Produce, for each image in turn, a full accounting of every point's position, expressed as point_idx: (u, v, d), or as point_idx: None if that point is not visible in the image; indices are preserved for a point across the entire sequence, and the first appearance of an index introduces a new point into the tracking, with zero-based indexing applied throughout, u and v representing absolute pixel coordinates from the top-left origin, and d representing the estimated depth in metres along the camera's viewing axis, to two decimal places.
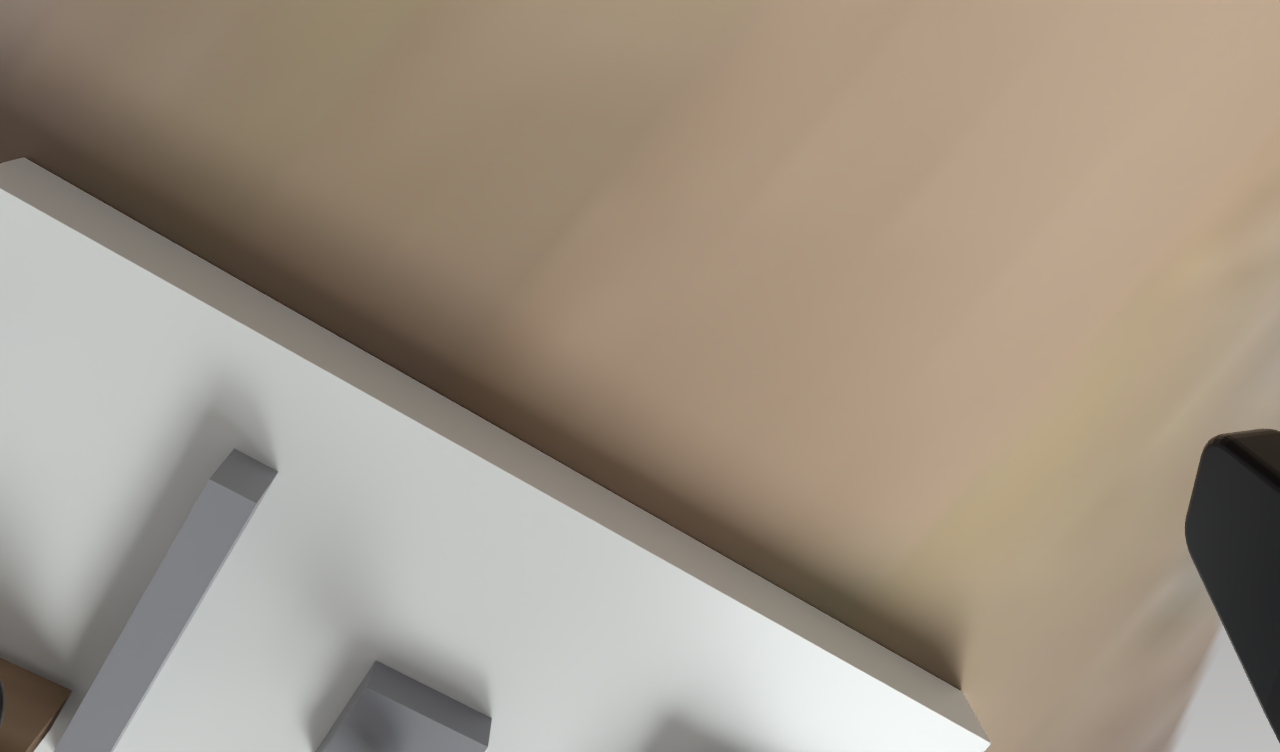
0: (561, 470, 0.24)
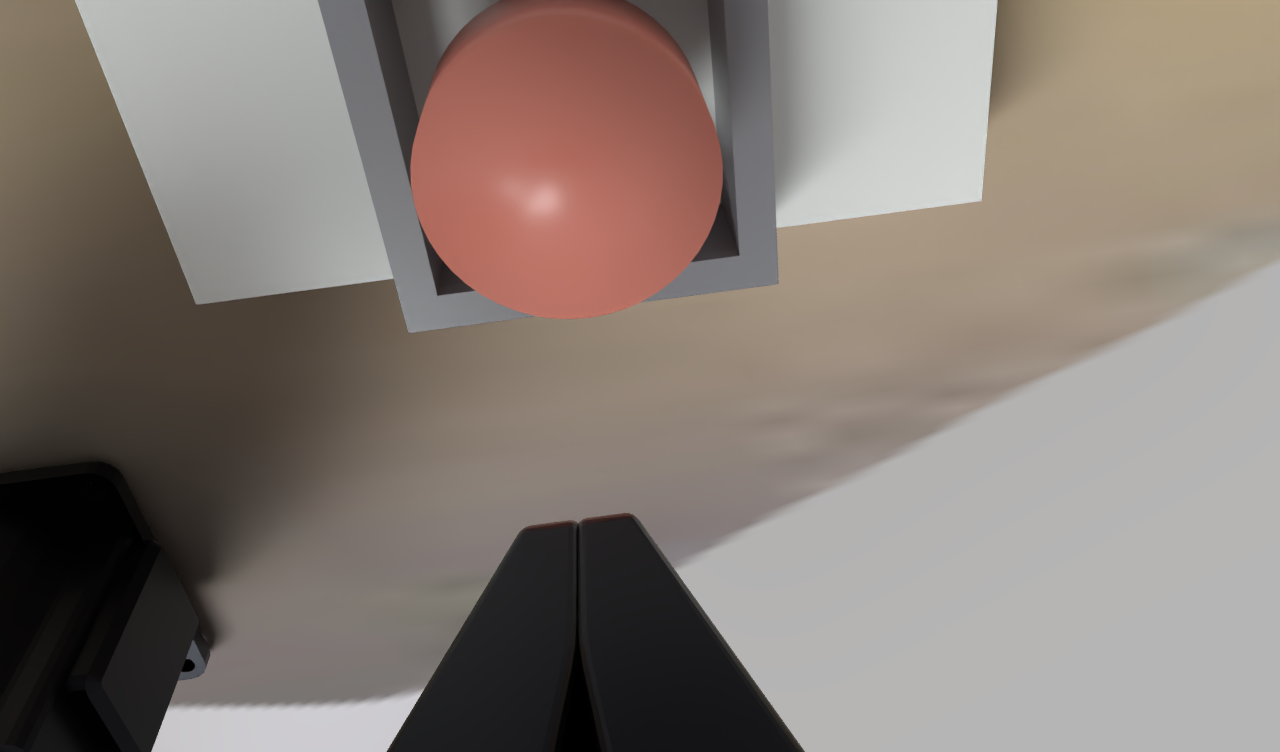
0: None
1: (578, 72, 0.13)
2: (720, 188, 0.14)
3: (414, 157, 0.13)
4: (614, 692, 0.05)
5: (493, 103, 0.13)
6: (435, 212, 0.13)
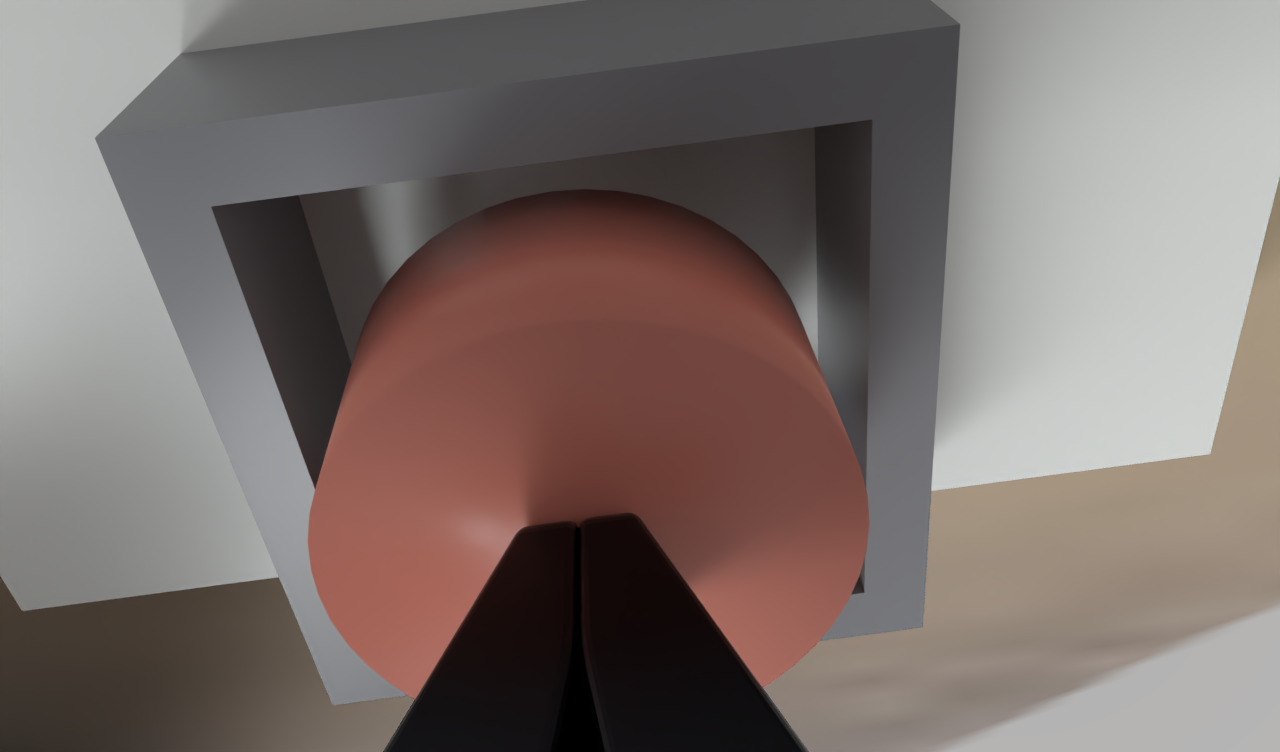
0: None
1: (615, 393, 0.07)
2: (862, 559, 0.08)
3: (314, 528, 0.07)
4: (617, 692, 0.05)
5: (456, 445, 0.07)
6: (357, 605, 0.08)
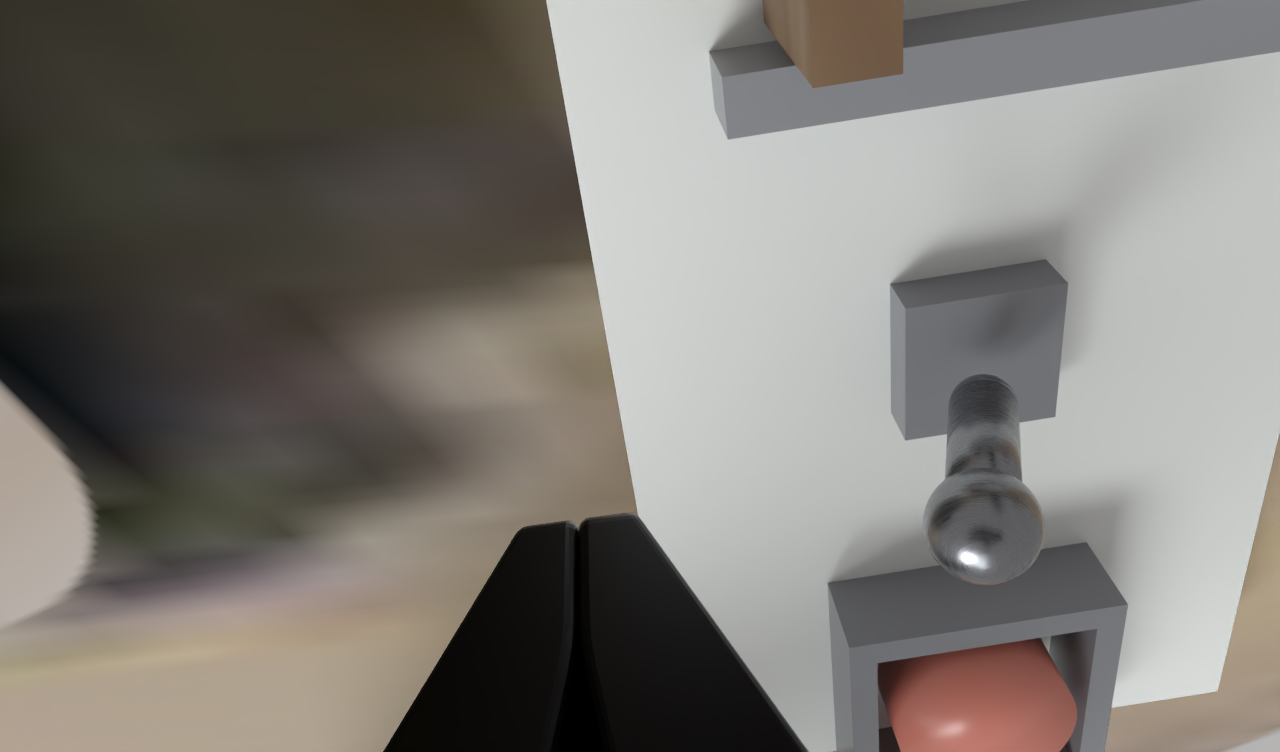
0: None
1: (1006, 688, 0.23)
2: (1073, 729, 0.23)
3: (907, 727, 0.23)
4: (617, 692, 0.05)
5: (957, 703, 0.23)
6: (911, 748, 0.23)
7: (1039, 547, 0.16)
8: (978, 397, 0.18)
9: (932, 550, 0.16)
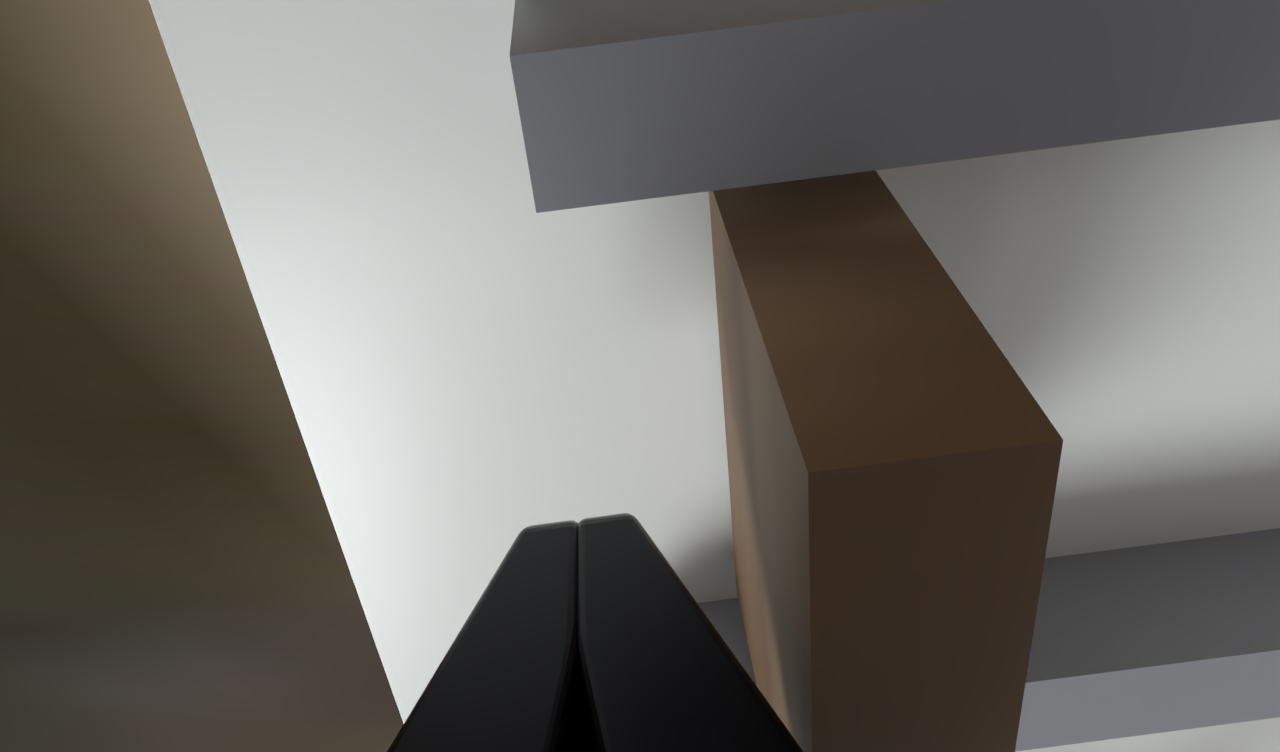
0: None
1: None
2: None
3: None
4: (613, 692, 0.05)
5: None
6: None
7: None
8: None
9: None
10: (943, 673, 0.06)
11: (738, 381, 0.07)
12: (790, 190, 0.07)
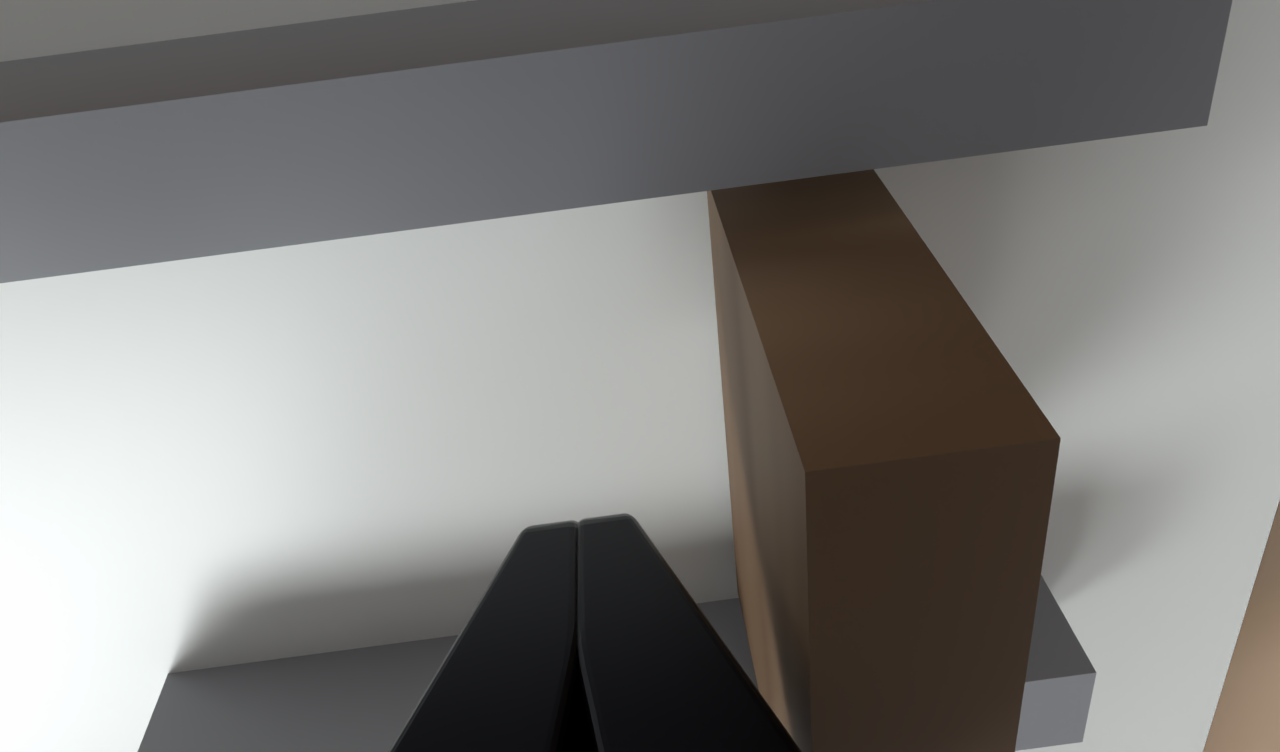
0: None
1: None
2: None
3: None
4: (611, 692, 0.05)
5: None
6: None
7: None
8: None
9: None
10: (942, 672, 0.06)
11: (737, 381, 0.07)
12: (787, 190, 0.07)
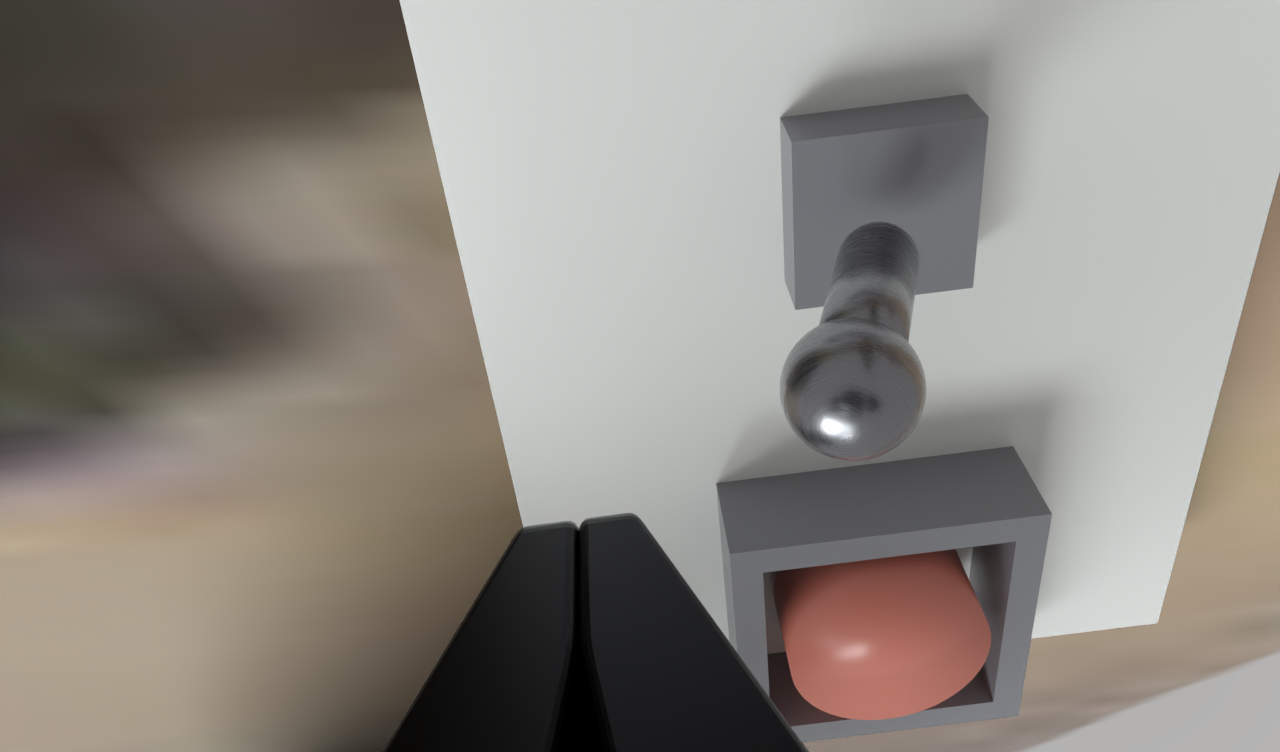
0: None
1: (910, 606, 0.20)
2: None
3: (797, 647, 0.20)
4: (617, 691, 0.05)
5: (853, 621, 0.20)
6: (802, 672, 0.21)
7: (915, 413, 0.12)
8: (868, 245, 0.15)
9: (787, 416, 0.13)
10: None
11: None
12: None
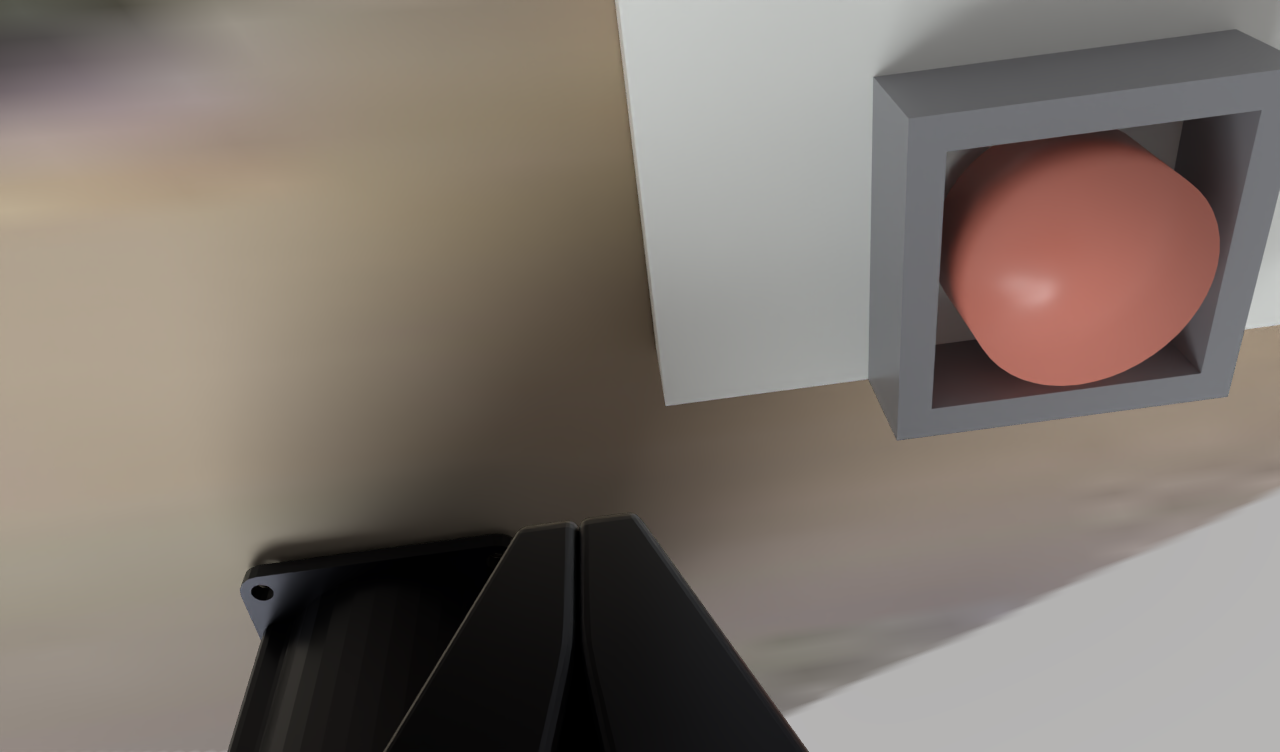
0: None
1: (1127, 198, 0.16)
2: None
3: (982, 262, 0.16)
4: (616, 692, 0.05)
5: (1055, 222, 0.16)
6: (984, 304, 0.17)
7: None
8: None
9: None
10: None
11: None
12: None
